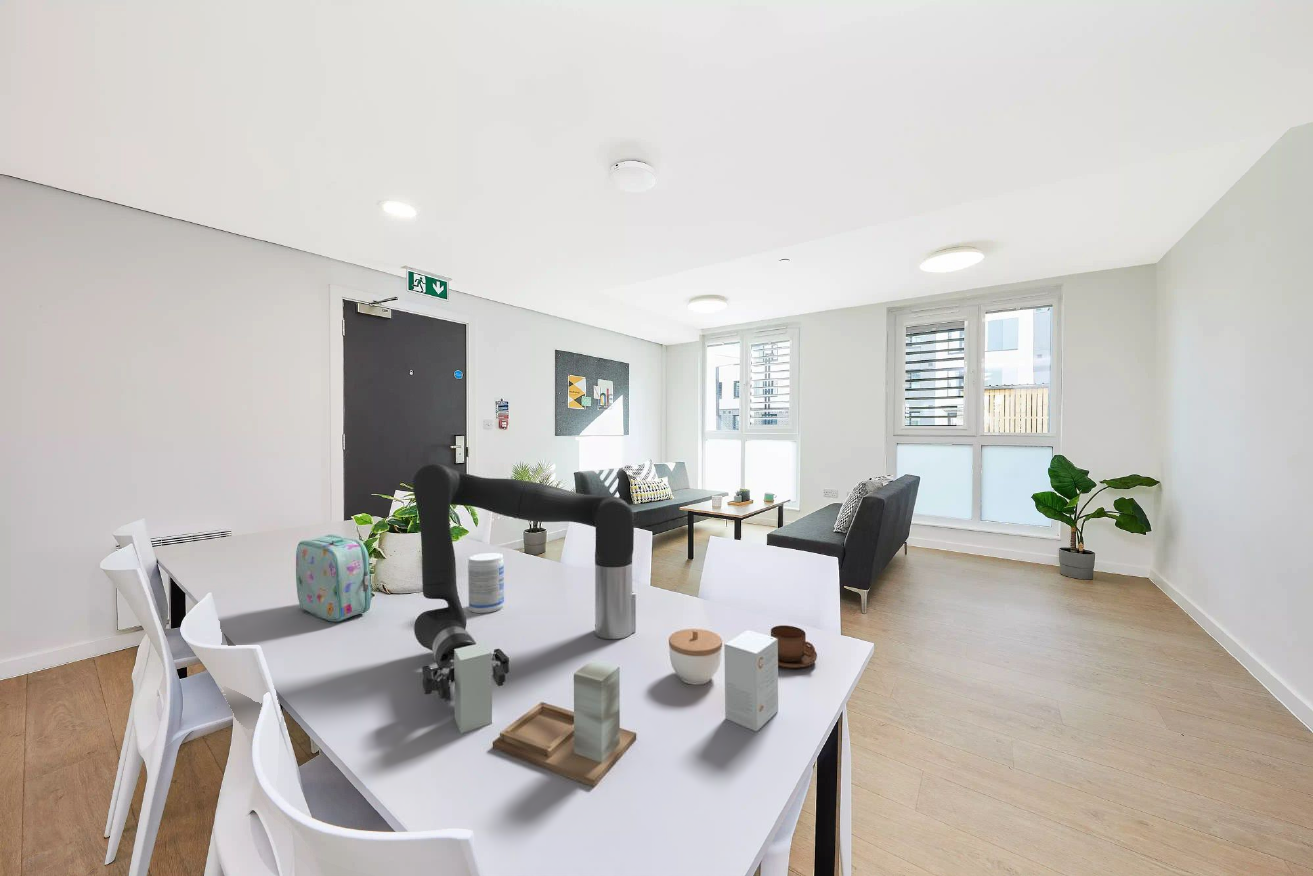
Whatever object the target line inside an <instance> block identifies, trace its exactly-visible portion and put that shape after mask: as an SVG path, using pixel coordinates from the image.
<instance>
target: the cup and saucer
mask: <svg viewBox="0 0 1313 876" xmlns="http://www.w3.org/2000/svg"><path fill="white" fill-rule="evenodd" d="M806 634H807V633H806V632H805V631H804V630H803V629H801V628H799V627H796V626H792V625H782V624H781V625H776V626H773V627H771V628H770V636H771V637H774V638H777V639H778V667H784V668H787V669H789V668H790V669H799V668H806V667H808V666H811V665H813V664H814V663H815V662H816V660H817V658H818V653H817V651H816V649H815V646H814V645H813V644H812V643H811V642H810V641H807V640H806V639H807V638H806V636H807V635H806Z"/></svg>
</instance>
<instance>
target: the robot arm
mask: <svg viewBox="0 0 1313 876" xmlns="http://www.w3.org/2000/svg"><path fill="white" fill-rule="evenodd" d="M411 482H412V483H411V484H412V491H413V496H414V500H415V504H416V510H417V515H418V516H417V517H418V521H419V530H420V543H421V575H422V576H421V580H422V595H423V597H424V598H426V599H427V600H428V599H430V600H443V601H445V602H446V603H447V606H446V607H441V608H436V609H431V610H426V611H424V612H422V613H420V614H419V615H418V616H417V617H416V618H415V621H414V625H413V631H414V636H415V638H416V640H417V642H418V643H419V644H420V645H421V646H422V647H424V648H426V649H427V650H430V651H432V653H433V654H432V655H433V660H434V663H435V664H436V666H437V667H435V668H433V667H431V666H430V665H427V664H426V665H423V666H422V667H421V682H422V688H423V694H424V695H425V696H426V695H430V694H432V693H433V692H436V693H437V694H438V697H439V698H440V699H441V700H443V699H444V701H445V702H449V701H450V700H451V687H452V686H454V649H458V648H462V647H466V646H471V645H475V644H477V642H476V640H475V639H474V638H473V637H472V635H471V634H470V632H469V631H467V630H466V629H467V618H466V613H465V612H464V609H463V606H462V603H461V601H460V600H461V599H460V597H459V592H458V587H457V567H456V566H457V565H456V555H455V549H454V544H453V538H452V533H451V524H450V523H451V522H450V511H451V509H450V508H451V505H452V506H453V505H454V506H464V507H465V506H466V507H473V508H478V509H482V510H485V511H489V512H491V513H495V514H498V515H501V516H504V517H509V518H513V519H518V520H522V521H523V520H524V521H529V522H538V523H560V522H561V523H564V522H565V523H566V522H568V523H569V522H570V523H577V524H581V525H586V526H590V527H593V528H595V549H594V550H595V551H594V602H595V603H594V609H595V610H594V611H595V612H594V622H595V623H594V633H595V635H596V636H597V637H599V638H601V639H605V640H619V639H623V638H627V637H629V636H631V635H632V634H633V633H636V631H637V618H636V617H637V612H636V611H637V610H636V609H637V604H636V603H637V601H636V600H637V599H636V598H637V594H636V592H634V591H633V554H634V542H635V541H634V539H635V538H634V536H635V535H634V533H635V521H634V520H635V519H634V513H633V510H632V508H631V506H630V505H629V504H628V503H627V502H626V501H625V500H624V499H622V498H620V497H617V496H612V495H611V496H609V495H607V496H606V495H597V494H596V495H594V494H584V493H578V492H575V491H570V490H568V489H564V488H559V487H557V486H551V485H548V484H543V483H540V482H534V481H528V480H523V479H514V478H513V479H512V478H493V477H492V478H490V477H482V476H477V475H473V474H470V473H465V472H462V471H458V470H455V469H453V468H450V467H448V466H446V465H443V464H440V463H428V464H425V465H423V466H422V467H420V468H419V469H418V470H417V471H416V472H415V474H414V475H413V478H412V481H411ZM509 673H510V658H509V657H508V656H507V655H506V654H505V653H504V651H503V650H502V649H500V648H495V649H493V653H492V679H493V681H494V682H495V684H496V685H497V686H498V687H501V686H503V685H504V683H505V682H506V674H509ZM436 676H437V677H436Z"/></svg>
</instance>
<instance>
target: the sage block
mask: <svg viewBox="0 0 1313 876" xmlns="http://www.w3.org/2000/svg"><path fill="white" fill-rule="evenodd" d="M492 654H493V653H492V651H491V650H490V649H489V647H488V646H487V644H486V643H485V642H481V643H476V644H475V645H471V646H466V647H462V648H458V649H454V684H453V686H454V720H455V723H456V725H457V728H458V730H459V732H460V734H464V733H466V732H471V731H473V730H476V729H478V728H482V727H485V726H489V725H491V724H492V723H493V692H492V691H493V685H492V683H493V681H492V679H493V677H492V671H493V667H492Z"/></svg>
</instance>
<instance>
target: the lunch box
mask: <svg viewBox="0 0 1313 876" xmlns="http://www.w3.org/2000/svg"><path fill="white" fill-rule="evenodd" d="M370 570H371V569H370V556H369V552H368V549H367V547H366V546H365V544H364V543H362V542H361V541H360V540H358V539H353V538H346V537H342V536H340V535H337V534H332V533H331V534H327V535H324V536H320V537H317V538H312V539H307V540H301V541H299V542H298V543H297V547H296V554H295V578H296V579H295V581H296V591H297V592H296V595H297V600H298V603H299V606H300V608H301V609H303V610H304V611H306V612H308V613H311V614H312V615H314V616H315V617H316V618H321V619H324V620H326V621H330V622H334V623H335V622H340V621H343V620H346V619H348V618H351V617H353V616H356V615H359V614H365V613H367V612H368V611H369V610H370V607H371V603H372V602H371V601H372V599H373V594H372V584H371V574H370V573H371V572H370Z"/></svg>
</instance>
